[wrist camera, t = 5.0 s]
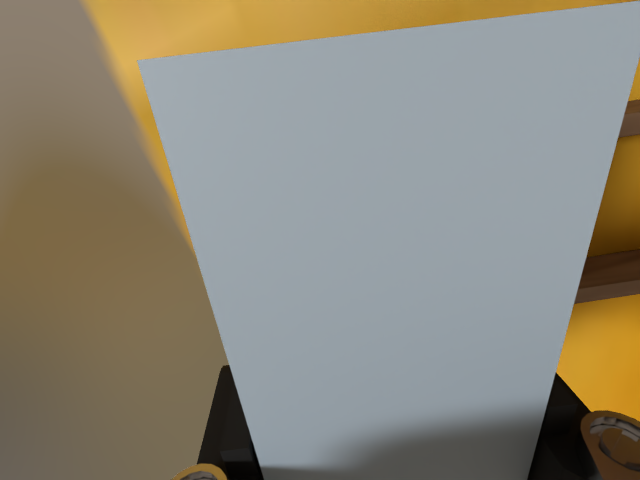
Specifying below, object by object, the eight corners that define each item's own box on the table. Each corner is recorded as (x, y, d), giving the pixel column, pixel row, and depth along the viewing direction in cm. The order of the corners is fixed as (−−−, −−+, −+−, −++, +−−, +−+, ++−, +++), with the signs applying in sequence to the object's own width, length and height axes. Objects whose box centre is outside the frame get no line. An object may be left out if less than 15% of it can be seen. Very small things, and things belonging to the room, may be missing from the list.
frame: (461, 126, 22) (489, 134, 18) (765, 80, 22) (846, 80, 18) (454, 290, 27) (475, 318, 24) (698, 253, 27) (752, 276, 24)
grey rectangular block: (224, 68, 7) (137, 60, 3) (456, 40, 7) (654, -2, 3) (309, 481, 14) (315, 649, 10) (432, 465, 14) (488, 625, 10)
